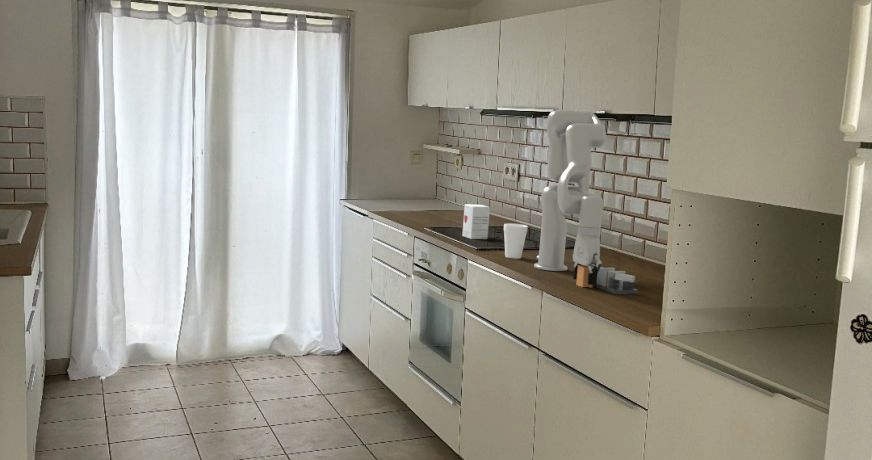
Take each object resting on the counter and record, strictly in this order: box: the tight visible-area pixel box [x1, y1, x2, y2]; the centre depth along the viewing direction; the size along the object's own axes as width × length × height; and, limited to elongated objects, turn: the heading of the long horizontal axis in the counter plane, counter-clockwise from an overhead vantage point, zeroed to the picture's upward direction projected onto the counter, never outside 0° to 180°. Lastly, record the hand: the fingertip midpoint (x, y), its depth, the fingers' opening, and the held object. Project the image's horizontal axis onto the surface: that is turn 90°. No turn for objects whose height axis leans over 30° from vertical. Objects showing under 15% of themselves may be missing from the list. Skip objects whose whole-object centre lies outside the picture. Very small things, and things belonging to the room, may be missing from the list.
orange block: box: [575, 265, 594, 288], centre depth 309 cm, size 4×4×7 cm
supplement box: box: [461, 203, 491, 240], centre depth 413 cm, size 9×9×15 cm
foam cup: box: [503, 223, 528, 259], centre depth 363 cm, size 10×9×13 cm
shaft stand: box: [592, 266, 639, 296], centre depth 309 cm, size 20×9×6 cm, turn 22°
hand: (584, 281), depth 309 cm, fingers open, 8 cm apart
